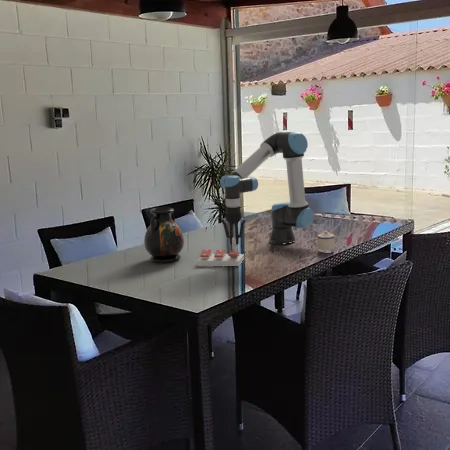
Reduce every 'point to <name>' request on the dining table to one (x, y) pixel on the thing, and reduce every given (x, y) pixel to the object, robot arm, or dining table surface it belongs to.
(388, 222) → the dining table surface
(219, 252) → the rocker
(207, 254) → the rocker
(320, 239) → the teacup with lid
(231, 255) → the rocker
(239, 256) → the power strip
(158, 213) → the amphora vase
